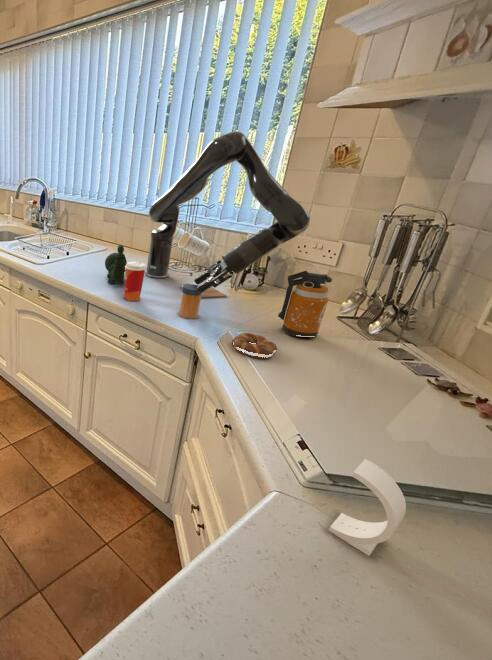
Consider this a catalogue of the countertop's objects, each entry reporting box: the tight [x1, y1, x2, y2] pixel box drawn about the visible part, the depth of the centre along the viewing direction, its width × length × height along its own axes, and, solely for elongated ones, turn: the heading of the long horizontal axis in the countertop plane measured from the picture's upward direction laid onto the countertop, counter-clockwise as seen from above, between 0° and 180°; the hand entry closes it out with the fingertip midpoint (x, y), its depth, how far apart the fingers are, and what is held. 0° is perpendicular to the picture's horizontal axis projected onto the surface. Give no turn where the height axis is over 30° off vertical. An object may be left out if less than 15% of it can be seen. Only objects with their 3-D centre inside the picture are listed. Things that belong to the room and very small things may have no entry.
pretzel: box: [231, 332, 278, 360], centre depth 114 cm, size 12×11×4 cm
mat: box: [180, 286, 227, 299], centre depth 158 cm, size 12×12×1 cm
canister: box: [277, 270, 333, 339], centre depth 120 cm, size 9×11×20 cm
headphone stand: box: [328, 458, 407, 557], centre depth 58 cm, size 5×6×12 cm
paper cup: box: [123, 261, 147, 302], centre depth 151 cm, size 8×8×14 cm
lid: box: [181, 283, 202, 295], centre depth 134 cm, size 6×6×2 cm
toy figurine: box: [104, 244, 128, 286], centre depth 171 cm, size 9×19×25 cm
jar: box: [178, 292, 202, 320], centre depth 136 cm, size 6×6×10 cm
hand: (197, 286), depth 134 cm, fingers open, 8 cm apart
